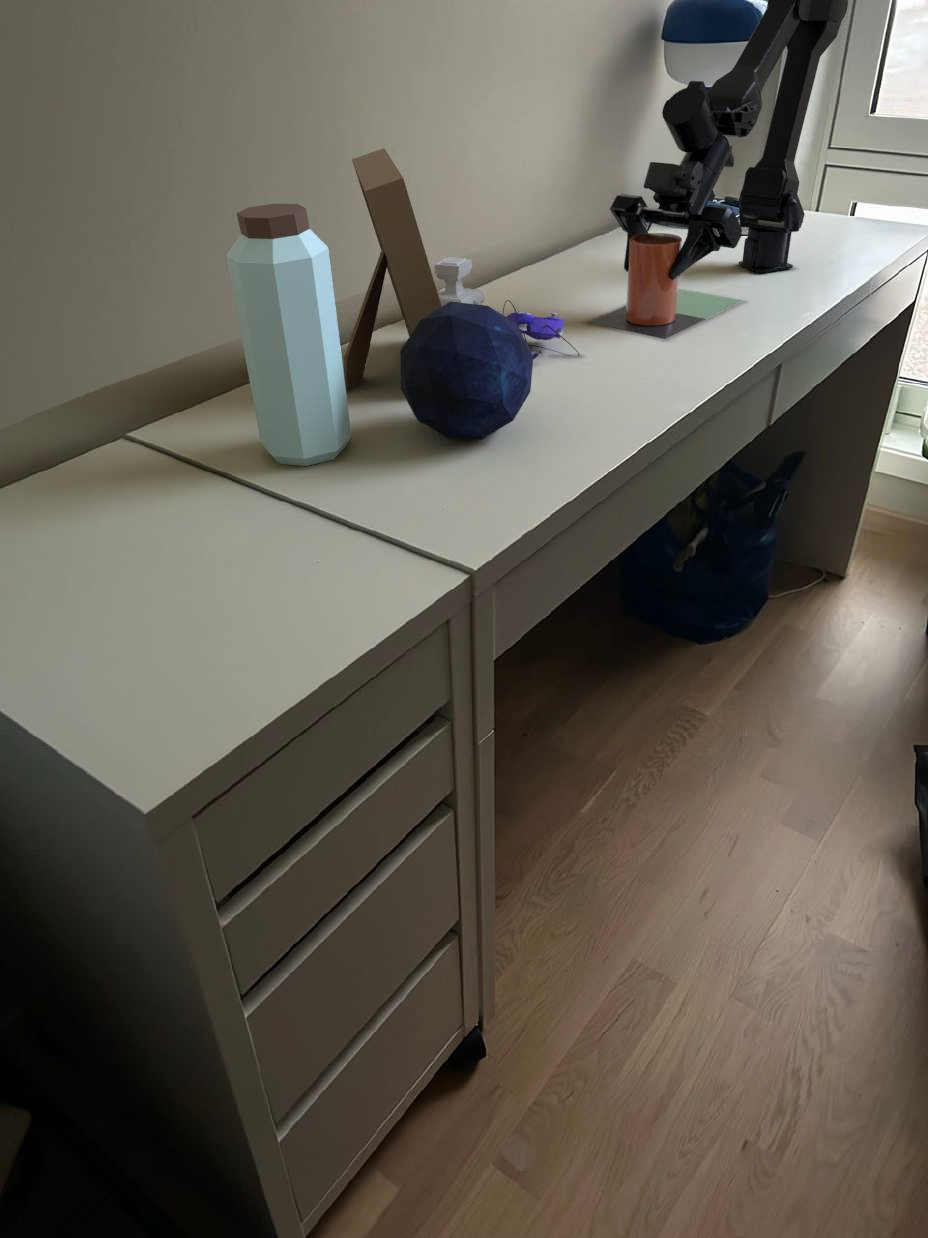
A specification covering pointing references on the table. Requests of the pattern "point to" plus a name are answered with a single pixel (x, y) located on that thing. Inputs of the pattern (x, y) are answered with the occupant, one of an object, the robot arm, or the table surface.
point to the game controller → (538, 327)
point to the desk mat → (687, 314)
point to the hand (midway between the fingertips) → (647, 273)
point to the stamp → (456, 282)
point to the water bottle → (290, 334)
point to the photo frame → (390, 258)
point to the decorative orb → (466, 370)
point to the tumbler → (652, 279)
